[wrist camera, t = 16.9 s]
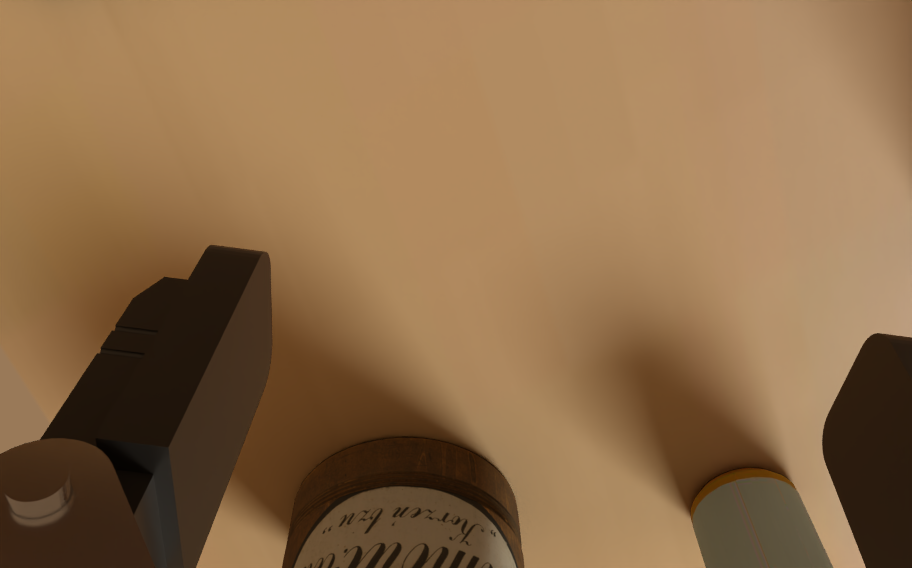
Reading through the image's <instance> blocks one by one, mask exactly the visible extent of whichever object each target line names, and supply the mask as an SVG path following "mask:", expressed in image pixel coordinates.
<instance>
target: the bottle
mask: <svg viewBox="0 0 912 568" xmlns="http://www.w3.org/2000/svg"><path fill="white" fill-rule="evenodd" d="M691 520H692V523H693V528H694V531H695V535H696V538H697V541H698V544H699V547H700V550H701V554H702V557H703V560H704V563H705V566H706V568H833V566H832V564H831V562H830V560H829V558H828V556H827V553H826V551H825V549H824V547H823V545H822V543H821V540H820V538H819V536H818V534H817V532H816V530H815V528H814V525H813V523H812V521H811V519H810V517H809V515H808V513H807V510H806V508H805V506H804V504H803V502H802V500H801V498H800V495H799V493H798V492H797V490H796V488H795V486H794V484H793V483H792V482H791V481H790V480H788V479H787V478H786V477H784V476H783V475H780V474H777V473H774V472H771V471H768V470H765V469H760V468H743V469H736V470H732V471H729V472H727V473H724V474H721V475H719V476H717V477H716V478H714V479H713V480H711V481H710V482H708V483H707V484H706V485H705V486H704V487H703V489H702V490H701V491H700V492H699V494H698V495H697V496H696V498H695V500H694V502H693V504H692V507H691Z"/></svg>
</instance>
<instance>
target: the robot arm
mask: <svg viewBox="0 0 912 568" xmlns="http://www.w3.org/2000/svg"><path fill="white" fill-rule="evenodd" d="M271 355H272V308H271V267H270V258H269V255H268V253H267V252H262V251H254V250H247V249H239V248H231V247H224V246H216V245H210V246H209V247H208V248H207V249H206V250H205V252H204V254H203V255H202V257H201V259H200V260H199V262H198V264H197V265H196V267H195V269H194V271H193V272H192V274H191V276H190V277H189V279H188V280H184V279H177V278H169V277H164V278H162V279H161V280H160V281H158V282H157V283H155V284H154V285H152V286H151V287H149V288H148V289H146V290H145V291H143V292H142V293H140V294H139V295H137V296H136V297H135V298H133V300H132V301H131V303H130V304H129V306H128V307H127V309H126V310H125V312H124V313H123V315H122V316H121V318H120V319H119V321H118V322H117V324H116V328H115V331H111V333H110V335H109V336H108V338H107V339H106V341H105V342H104V344H103V345H102V347H101V352H100V354H98V353H97V354H96V356H95V357H94V359H93V360H92V362H91V363H90V365H89V366H88V368H87V369H86V371H85V372H84V374H83V375H82V377H81V378H80V380H79V381H78V383H77V385H76V386H75V388H74V389H73V391H72V392H71V394H70V395H69V397H68V398H67V400H66V401H65V403H64V404H63V406H62V407H61V409H60V410H59V412H58V413H57V415H56V416H55V418H54V419H53V421H52V422H51V424H50V425H49V427H48V428H47V430H46V432H45V433H44V435H43V436H42V437H41V439H40V440H37V441H33V442H29V443H25V444H22V445H19V446H17V447H14V448H11V449H9V450H7V451H5V452H3V453H1V454H0V568H196V566H197V563H198V561H199V558H200V555H201V553H202V550H203V547H204V545H205V542H206V540H207V537H208V534H209V532H210V529H211V527H212V524H213V521H214V519H215V516H216V514H217V511H218V508H219V506H220V503H221V501H222V498H223V495H224V493H225V490H226V487H227V485H228V482H229V480H230V477H231V474H232V472H233V469H234V467H235V464H236V461H237V459H238V456H239V454H240V451H241V448H242V446H243V443H244V441H245V438H246V435H247V433H248V430H249V428H250V425H251V422H252V420H253V417H254V414H255V412H256V409H257V407H258V404H259V401H260V399H261V396H262V394H263V391H264V388H265V385H266V382H267V378H268V374H269V369H270V363H271ZM822 446H823V455H824V460H825V463H826V466H827V468H828V471H829V474H830V476H831V479H832V481H833V484H834V486H835V489H836V492H837V494H838V497H839V499H840V502H841V504H842V507H843V510H844V512H845V515H846V517H847V520H848V522H849V525H850V528H851V530H852V533H853V535H854V538H855V540H856V543H857V546H858V548H859V551H860V553H861V556H862V558H863V561H864V564H865V566H866V568H912V338H911V337H903V336H896V335H888V334H880V333H876V334H873V335H871V336H870V337H869V338H868V339H867V340H866V341H865V343H864V344H863V346H862V348H861V350H860V352H859V354H858V356H857V358H856V360H855V362H854V364H853V366H852V368H851V370H850V372H849V374H848V376H847V378H846V380H845V382H844V384H843V386H842V387H841V389H840V391H839V393H838V395H837V397H836V399H835V401H834V403H833V405H832V407H831V409H830V411H829V413H828V416H827V418H826V421H825V425H824V429H823V439H822Z"/></svg>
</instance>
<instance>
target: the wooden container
mask: <svg viewBox="0 0 912 568" xmlns="http://www.w3.org/2000/svg"><path fill="white" fill-rule="evenodd" d="M282 568H524V559H523V553H522V549H521V535H520V527H519V518H518V511H517V505H516V500H515V496H514V494H513V492H512V489H511V487H510V486H509V484H508V482H507V481H506V479H505V478H504V477H503V476H502V475H501V473H500V472H499V471H498V470H497V469H496V468H494V467H493V466H492V465H491V464H490V463H488V462H487V461H486V460H484V459H483V458H481V457H480V456H478V455H476V454H474V453H472V452H470V451H468V450H465V449H463V448H461V447H458V446H455V445H452V444H449V443H446V442H442V441H437V440H431V439H424V438H404V437H398V438H386V439H382V440H375V441H370V442H366V443H362V444H359V445H355V446H352V447H350V448H347V449H345V450H343V451H341V452H338V453H337V454H335V455H333V456H331V457H329V458H328V459H326V460H325V461H323V462H322V463H321V464H320V465H318V466H317V467H316V468H315V469H314V470H313V471H312V472H311V473H310V474H309V475H308V476H307V477H306V479H305V480H304V482H303V483H302V485H301V487H300V489H299V491H298V493H297V496H296V499H295V503H294V508H293V513H292V518H291V524H290V529H289V535H288V541H287V546H286V550H285V555H284V560H283V566H282Z"/></svg>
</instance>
